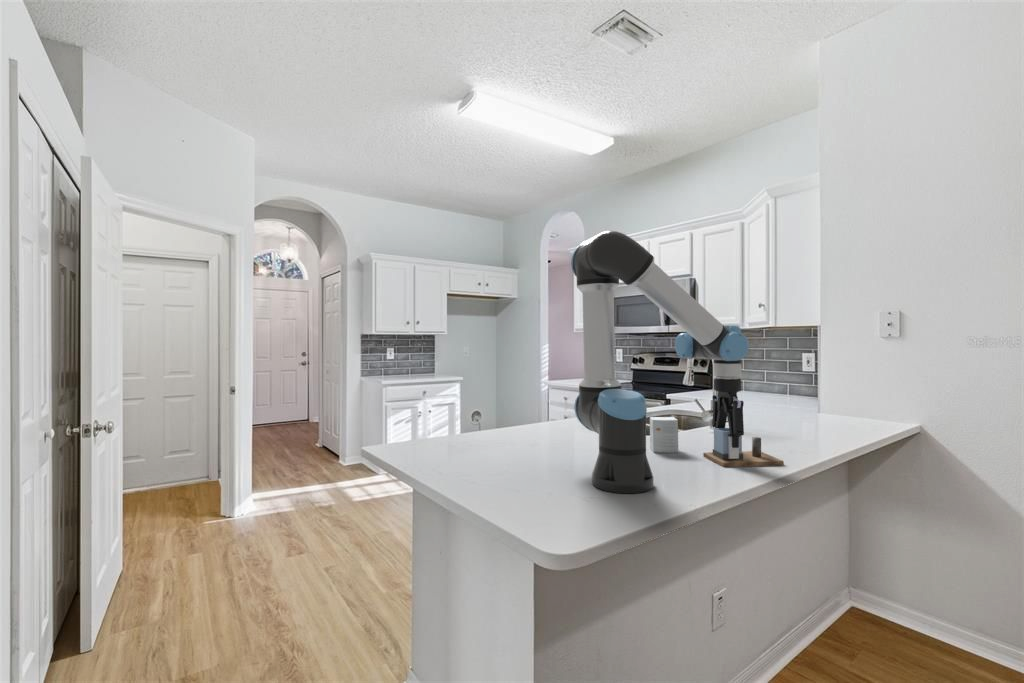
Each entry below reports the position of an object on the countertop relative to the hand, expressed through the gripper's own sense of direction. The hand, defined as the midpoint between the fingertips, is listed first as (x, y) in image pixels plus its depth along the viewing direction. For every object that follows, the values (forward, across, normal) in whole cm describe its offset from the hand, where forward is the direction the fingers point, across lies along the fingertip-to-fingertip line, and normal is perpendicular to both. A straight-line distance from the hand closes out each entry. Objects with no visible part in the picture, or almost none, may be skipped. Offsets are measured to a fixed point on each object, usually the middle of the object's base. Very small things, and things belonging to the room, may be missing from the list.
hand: (727, 455), depth 146 cm
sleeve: (0, 0, 0) cm, 0 cm away
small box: (+2, +15, +14) cm, 20 cm away
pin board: (+2, 0, -4) cm, 5 cm away
